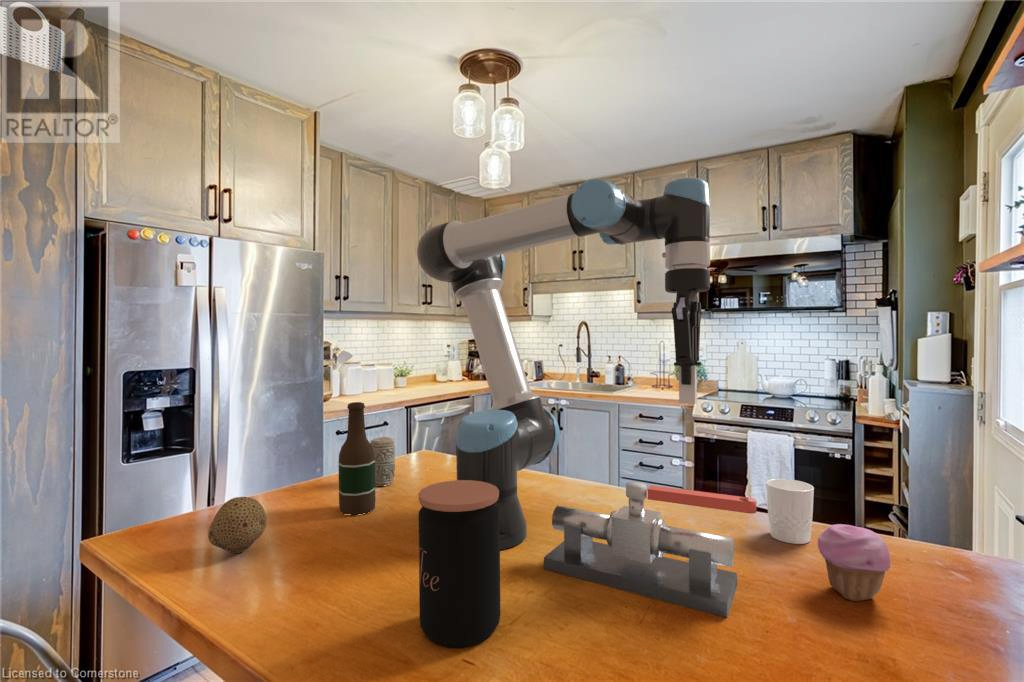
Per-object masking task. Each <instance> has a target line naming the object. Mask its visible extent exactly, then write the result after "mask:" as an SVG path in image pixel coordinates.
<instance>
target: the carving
mask: <svg viewBox="0 0 1024 682" xmlns="http://www.w3.org/2000/svg"><path fill="white" fill-rule="evenodd" d="M370 444H371V445H372V448H373V450H374V455H375V487H378V486H384V485H388V484H390V485H391V484H393V481H394V477H395V469H396V462H395V460H396V459H395V458H396V456H395V455H396V445H395V441H394V439H393V437H387V436H382V437H380V436H379V437H377V438H373V439H371V440H370ZM388 486H389V485H388Z"/></svg>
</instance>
